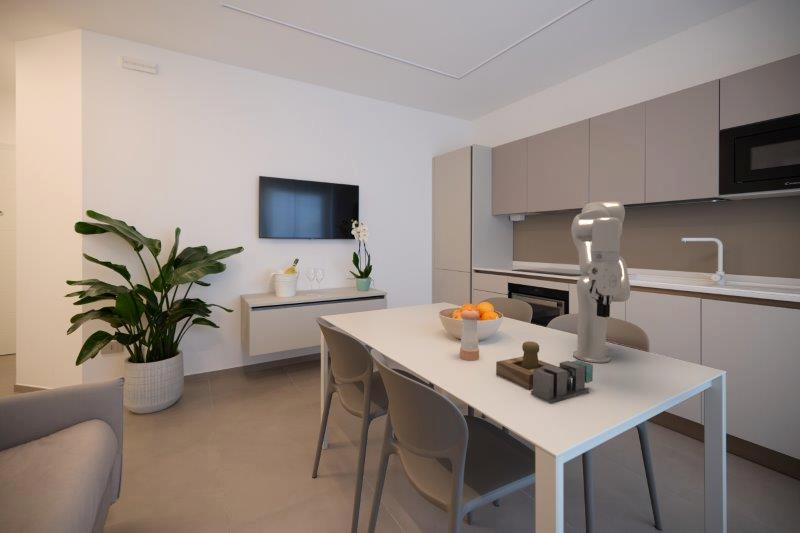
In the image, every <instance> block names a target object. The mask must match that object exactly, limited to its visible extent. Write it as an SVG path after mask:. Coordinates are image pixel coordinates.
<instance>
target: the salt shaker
mask: <svg viewBox="0 0 800 533" xmlns="http://www.w3.org/2000/svg"><path fill="white" fill-rule="evenodd" d="M460 318H461V319H462V331H461V338H460V348H459V358H460V359H462V360H465V361H478V360H479V359H480V348H479V335H478V334H479V333H478V320H479V318H480V313H479V312H478V310H477V311H476V310H474V309H473V308H471V307H469V308H468V309H465V310H463V311H461V313H460Z"/></svg>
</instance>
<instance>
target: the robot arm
mask: <svg viewBox="0 0 800 533" xmlns="http://www.w3.org/2000/svg"><path fill="white" fill-rule="evenodd" d="M580 212H581V213H579V214H577V215H575V216H574V218H573V221H572V224H571V226H570V227H571V237H572V240H573V243H574V246H575V248H576V250H577V253H578V263H579V264H578V266H579V272H580V274H581V277H580V278H578V280H577V282H576V294H577V301H578V302H577V304H578V310H577V311H578V312H577V313H578V314H577V315H578V318H577V319H578V320H577V349H576V350H574V351H573V352H572V356H573V357H574V358H575V359H577V360H579V361H582V362H586V363H597V364H598V363H599V364H601V363H604V364H605V363H608V362H610V361H611V357H610V356H609V355H608V354H607V352H610V351H612V346H610V345H607V343H606V342H607V318H610V314H611V311H610V310H611V304H612V303H623V302H627V301H628V300H629V299H630V296H631V284H630V278H629V273H628V272H629V271H628V266H627V262H626V260H625V259H624V257H622V256H620V249H621V248H620V245H621V244H620V242H621V241H620V240H621V239H620V238H621V237H622V235H623V223H624V220H625V215H626V211H625V206H624V205H623V203H622V202H620V201H618V200H617V201H616V200H614V201H612V200H611V201H593V202H589V203H587V204H585V205H584V206H583V207H582V209H581V211H580Z"/></svg>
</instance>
